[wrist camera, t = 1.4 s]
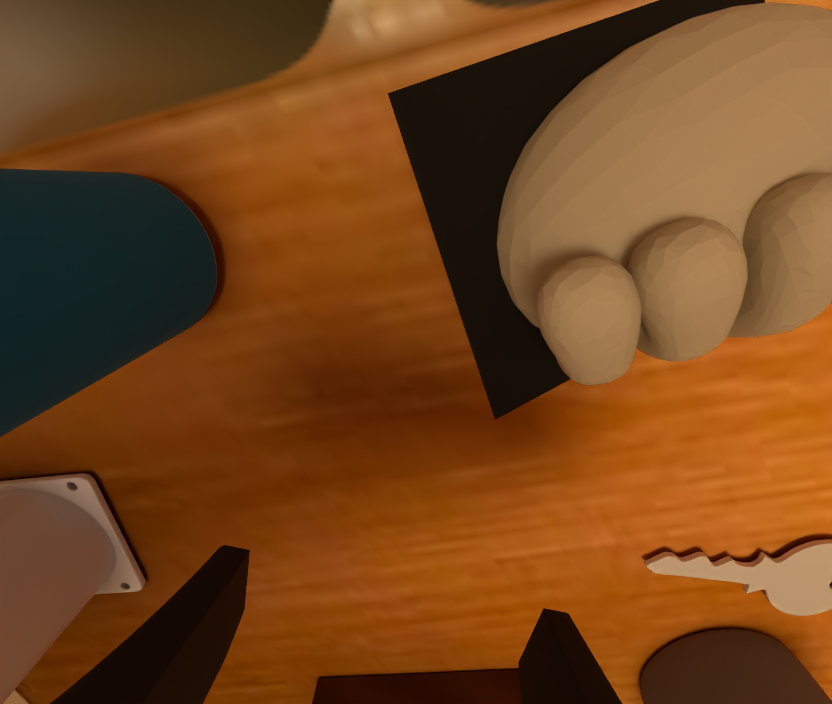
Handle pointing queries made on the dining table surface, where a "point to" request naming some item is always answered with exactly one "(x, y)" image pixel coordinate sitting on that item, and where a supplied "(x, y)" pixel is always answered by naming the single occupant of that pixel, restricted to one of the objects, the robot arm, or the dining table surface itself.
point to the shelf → (422, 688)
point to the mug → (728, 672)
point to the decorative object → (631, 189)
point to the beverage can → (90, 280)
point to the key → (766, 575)
